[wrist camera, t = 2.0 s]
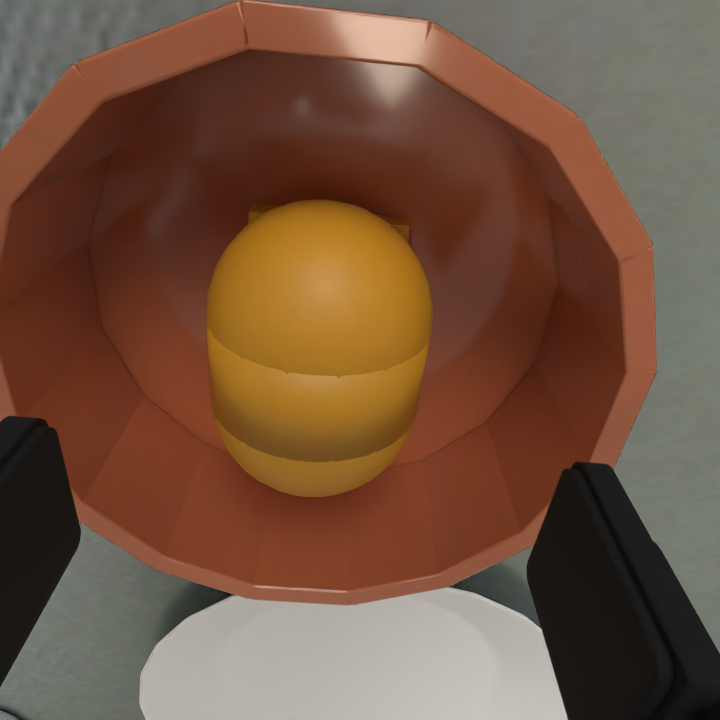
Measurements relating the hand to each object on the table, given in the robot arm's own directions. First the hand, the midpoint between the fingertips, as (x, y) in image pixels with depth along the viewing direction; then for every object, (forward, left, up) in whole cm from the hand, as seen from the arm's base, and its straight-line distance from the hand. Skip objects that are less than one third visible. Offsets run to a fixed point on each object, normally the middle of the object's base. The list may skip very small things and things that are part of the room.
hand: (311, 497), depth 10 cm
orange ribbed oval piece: (0, 0, -8) cm, 8 cm away
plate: (+21, +3, -9) cm, 23 cm away
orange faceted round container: (0, 0, -8) cm, 8 cm away
